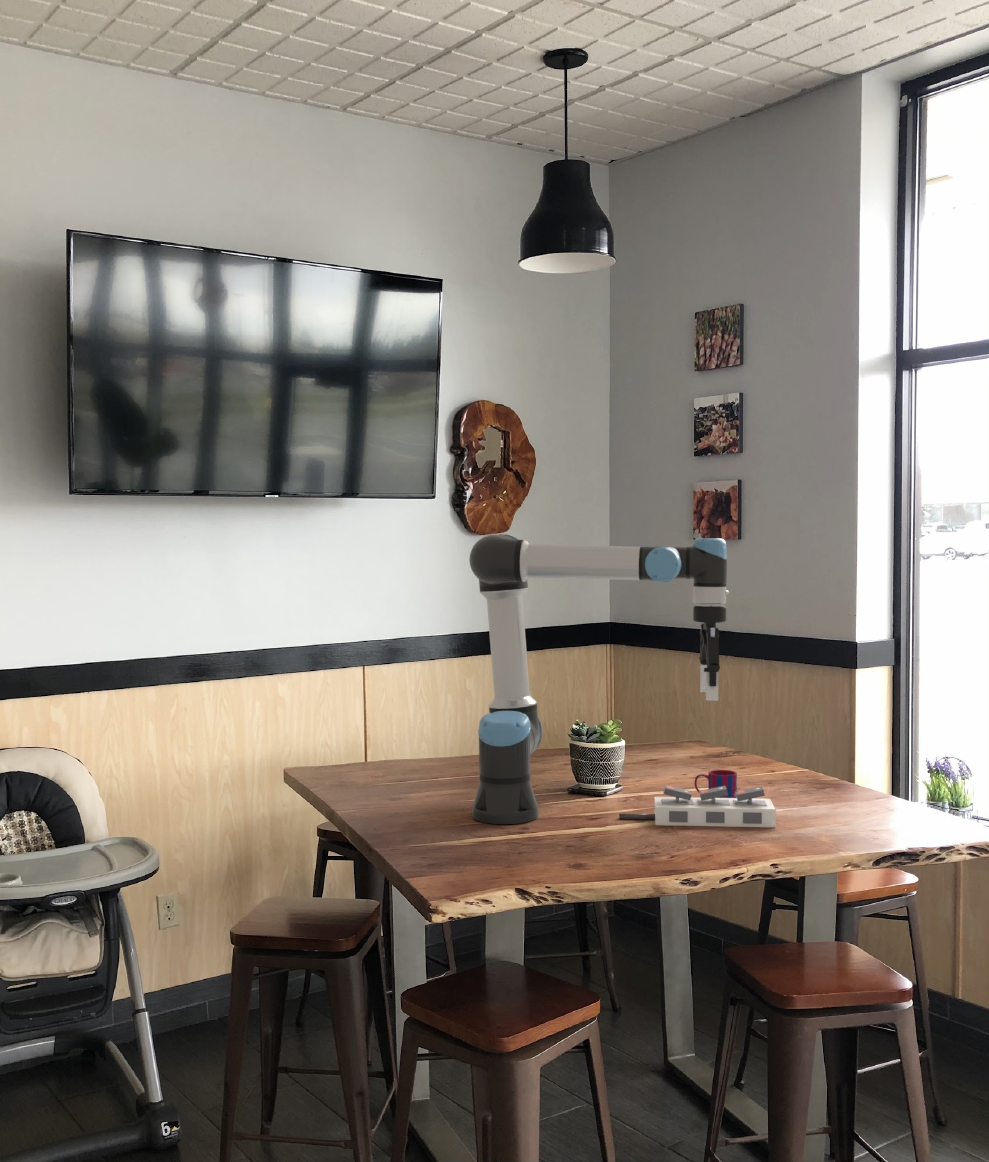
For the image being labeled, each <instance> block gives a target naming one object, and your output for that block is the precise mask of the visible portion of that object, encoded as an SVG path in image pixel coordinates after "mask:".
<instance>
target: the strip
mask: <svg viewBox="0 0 989 1162" xmlns="http://www.w3.org/2000/svg"><path fill="white" fill-rule="evenodd" d="M653 800H654V802H653V803H654V806H653V807H654V812H653V813H619V814H618V815H619V816H618V819H619V820H654V823H655V826H676V827H677V826H681V827H682V826H686V827H687V826H688V827H727V828H728V827H730V828H731V827H734V828H735V827H736V828H738V827H739V828H743V827H744V828H776V826H777V825H776V823H777V819H776V816H777V814H776V813H777V812H776V811H777V810H776V808H775V806H774V804H773V802H772V800H771V798H752V799H747V800H743V801H738V800H737V798H713V799H708V800H703V801H701V797H693V796H691V799H690V800H686V799H681V798H677V797H673V796H654V798H653Z"/></svg>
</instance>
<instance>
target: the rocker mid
mask: <svg viewBox="0 0 989 1162" xmlns="http://www.w3.org/2000/svg"><path fill="white" fill-rule="evenodd" d="M698 794H699V796H700V797H699V798H701V801H703V800H708V799H713V798H717V797H722V796H727V795H728V793H727V789H726V786H721V787H716V788H711V789H708V788H707V789H704V790H700V791H699V792H698Z"/></svg>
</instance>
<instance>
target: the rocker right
mask: <svg viewBox="0 0 989 1162" xmlns="http://www.w3.org/2000/svg"><path fill="white" fill-rule="evenodd" d="M735 794H736V798H737V800H738V801H743V800H747V799H752V798H756V799H758V798H761V797H762V798H763V797H765V796H766V795H765V790H764V788H763V786H756V787H751V788H746V789H740V790H737V791H736V792H735Z"/></svg>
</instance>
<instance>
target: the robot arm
mask: <svg viewBox="0 0 989 1162" xmlns="http://www.w3.org/2000/svg"><path fill="white" fill-rule="evenodd" d="M727 551H728V550H727V542H726V540H725V539H723V538H721V537H720V538H713V537H711V538H710V537H709V538H706V537H705V538H703V537H702V538H695V539H693V544H692V546H658V545H655V546H632V545H631V546H625V545H621V546H619V545H616V546H615V545H577V544H573V545H572V544H530V543H529V542H528V541H527V539H519V538H516V537H515V536H513V535H511V534H488V535H486V536H483V537H482V538H480V539H479V540H478V541H475V543H474V544H473V546H472V547H471V550H470V553H469V565H470V567H469V568H470V569H471V572H472V573H473V574H474V576H475V578H477V579H478V585H479V587H478V588H479V594H480V595H481V596H483V597H484V598H485V599H486V606H487V620H488V632H489V633H488V634H489V643H490V656H491V670H492V682H493V693H494V697H493V700H492V701H491V702H490V704H489V705H488V709H489V710H488V711H489V712H488V713H487V714H485V715H483V716H482V717H481V718H480V720H479V722H478V730H477V734H478V755H479V756H478V757H479V759H478V761H479V762H478V764H479V765H478V767H479V784H478V787H477V791H476V793H475V797H474V800H473V804H472V806H471V807H472V808H471V812H472V813H471V815H472V816H471V817H472V818H473V820H476V822H477V821H478V822H481V823H486V824H491V825H493V824H495V825H515V824H523V823H527V822H528V823H529V822H532V821H534V820H536V819H538V818H539V805H538V802H537V799H536V797H535V793H534V790H533V787H532V783H531V755H532V754H534V752H536V750H537V749H538V748H539V746H540V744H541V741H542V738H543V726H542V723H541V720H540V718H539V713H538V712H539V711H538V701H536V700H535V698H533V697H532V695H531V693H530V692H531V691H530V680H529V679H530V678H529V666H528V664H529V663H528V653H527V639H526V638H527V637H526V626H525V614H524V612H525V611H524V600H523V596H524V595H525V593H526V592H527V591H528V590H529V585H528V579H530V578H534V579H536V578H537V579H538V578H539V579H569V580H570V579H573V580H576V579H577V580H582V579H583V580H616V581H617V580H620V581H622V580H623V581H651V582H652V581H653V582H659V583H667V582H670V581H673V580H685V579H686V580H693V587H692V590H693V593H692V603H694V604H695V605H694V606H693V610H692V611H693V613H692V619H693V621H694V622H695V623H701V625H700V627H701V629H700V631H699V635H700V647H699V649H700V650H699V651H700V652H699V663H700V665H699V666H700V668H699V670H700V674H699V675H700V676H699V678H700V679H699V686H700V687H699V692H700V693H705V701H710V702H711V701H714V702H717V701H719V681H720V680H719V677H720V676H719V673H720V672H719V671H720V670H721V666H720V649H719V647H720V645H719V641H720V640H719V637H720V630H719V628H718V627H717V624H719V623H721V624H722V623H725V622H726V621H727V607H726V606H725V605H724V604H726V603H727V595H730V591H729V590H728V589H727V572H728V571H727V570H728V567H727V566H728V564H727V563H728V552H727Z"/></svg>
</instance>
